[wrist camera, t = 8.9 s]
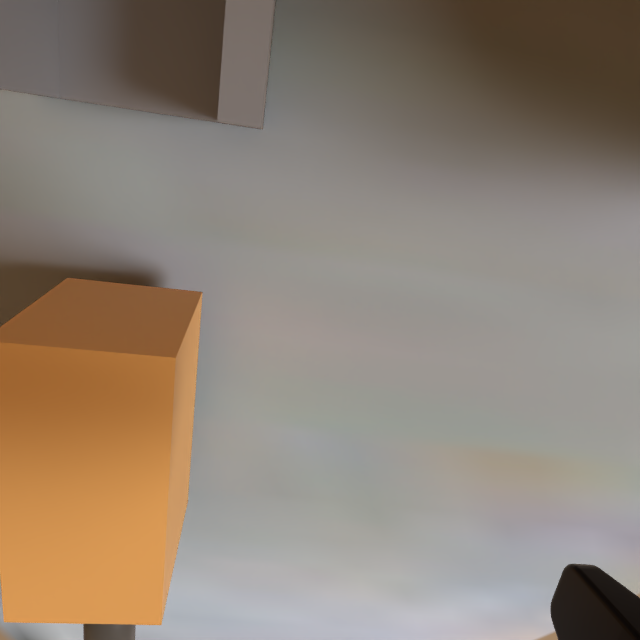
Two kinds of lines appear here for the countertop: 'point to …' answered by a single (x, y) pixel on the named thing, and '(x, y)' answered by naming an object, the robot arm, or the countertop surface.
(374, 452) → the countertop surface
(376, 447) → the countertop surface
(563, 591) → the robot arm
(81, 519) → the plug
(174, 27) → the socket box
